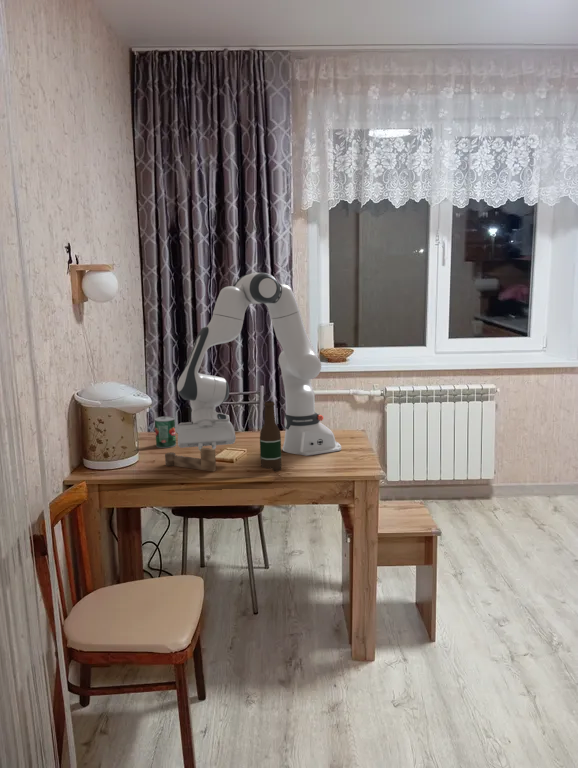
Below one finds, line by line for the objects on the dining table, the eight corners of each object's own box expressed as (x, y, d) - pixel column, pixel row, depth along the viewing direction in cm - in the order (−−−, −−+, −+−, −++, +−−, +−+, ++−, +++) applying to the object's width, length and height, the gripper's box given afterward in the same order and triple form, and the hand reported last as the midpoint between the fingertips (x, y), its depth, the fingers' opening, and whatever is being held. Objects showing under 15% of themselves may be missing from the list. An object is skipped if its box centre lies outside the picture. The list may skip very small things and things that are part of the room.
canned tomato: (178, 446, 270) (177, 419, 268) (159, 449, 267) (157, 421, 265) (172, 441, 277) (171, 415, 275) (153, 444, 274) (152, 417, 272)
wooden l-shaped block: (225, 465, 239) (225, 444, 238) (211, 472, 231) (211, 451, 230) (178, 458, 248) (177, 438, 247) (163, 465, 240) (162, 445, 239)
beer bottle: (256, 467, 240) (254, 400, 236) (277, 464, 243) (275, 398, 239) (264, 473, 233) (262, 405, 229) (285, 470, 236) (284, 402, 232)
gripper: (175, 418, 238) (178, 453, 231) (233, 414, 243) (237, 449, 235) (175, 427, 244) (177, 462, 236) (232, 424, 248) (236, 457, 240)
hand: (208, 455), depth 236 cm, fingers closed
